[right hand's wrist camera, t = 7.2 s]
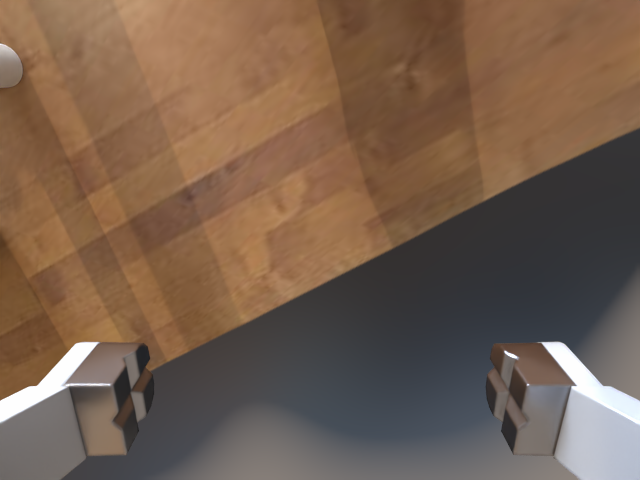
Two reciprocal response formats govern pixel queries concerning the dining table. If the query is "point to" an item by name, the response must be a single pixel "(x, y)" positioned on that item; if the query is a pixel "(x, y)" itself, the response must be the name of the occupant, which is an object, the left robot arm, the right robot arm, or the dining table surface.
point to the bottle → (9, 67)
